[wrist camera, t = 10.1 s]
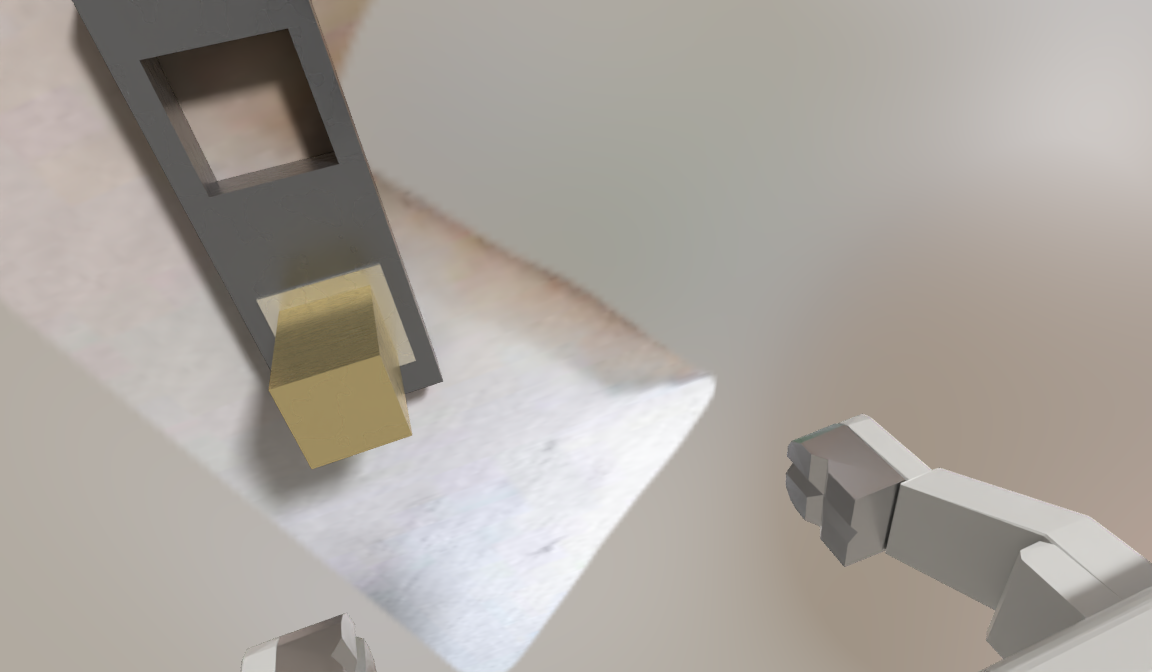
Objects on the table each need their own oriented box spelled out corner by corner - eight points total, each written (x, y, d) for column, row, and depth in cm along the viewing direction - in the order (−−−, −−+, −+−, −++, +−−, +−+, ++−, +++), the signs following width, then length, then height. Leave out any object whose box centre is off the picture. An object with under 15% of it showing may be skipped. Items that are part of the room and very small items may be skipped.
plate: (80, -27, 25) (56, -26, 23) (287, -66, 26) (284, -68, 24) (303, 402, 37) (301, 430, 35) (436, 359, 38) (443, 383, 36)
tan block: (278, 311, 31) (268, 389, 26) (370, 284, 32) (379, 355, 26) (314, 383, 34) (311, 469, 28) (398, 356, 35) (412, 435, 29)
